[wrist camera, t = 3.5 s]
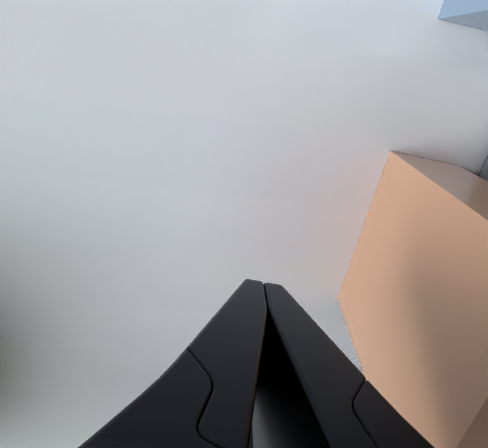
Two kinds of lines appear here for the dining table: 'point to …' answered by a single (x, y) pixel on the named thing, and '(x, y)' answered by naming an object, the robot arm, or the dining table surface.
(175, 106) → the dining table surface
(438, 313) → the tan upright block
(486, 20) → the blue-grey picture frame
